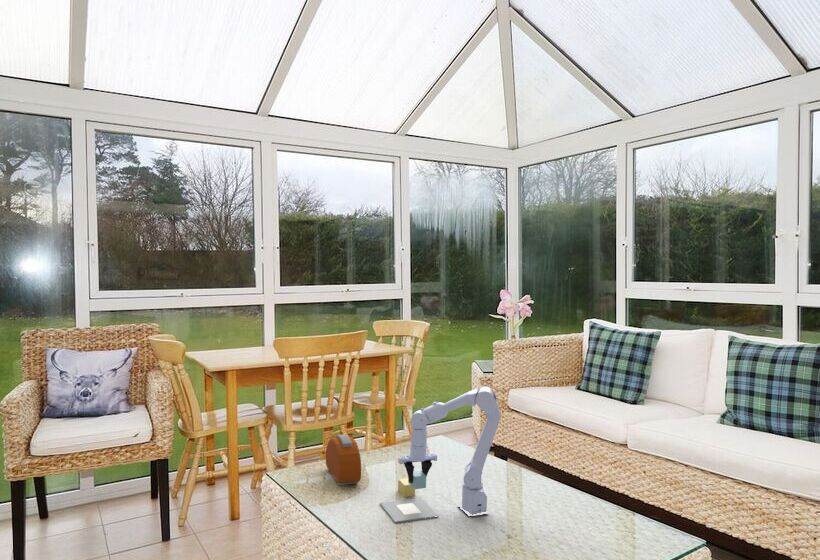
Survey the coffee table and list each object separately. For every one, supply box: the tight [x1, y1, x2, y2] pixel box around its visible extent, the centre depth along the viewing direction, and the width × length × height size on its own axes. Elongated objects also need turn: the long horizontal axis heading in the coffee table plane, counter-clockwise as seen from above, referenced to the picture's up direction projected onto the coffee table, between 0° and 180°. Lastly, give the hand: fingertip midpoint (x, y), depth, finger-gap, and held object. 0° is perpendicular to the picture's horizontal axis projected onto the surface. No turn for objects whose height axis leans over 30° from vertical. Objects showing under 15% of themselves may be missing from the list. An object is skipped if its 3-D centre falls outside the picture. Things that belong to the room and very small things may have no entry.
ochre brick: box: [397, 477, 416, 498], centre depth 217 cm, size 6×4×4 cm
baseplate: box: [379, 497, 439, 524], centre depth 202 cm, size 16×16×1 cm
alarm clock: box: [325, 434, 362, 486], centre depth 232 cm, size 23×9×17 cm, turn 22°
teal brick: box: [407, 469, 427, 490], centre depth 207 cm, size 6×4×4 cm
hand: (417, 481), depth 207 cm, fingers closed on teal brick, 4 cm apart
